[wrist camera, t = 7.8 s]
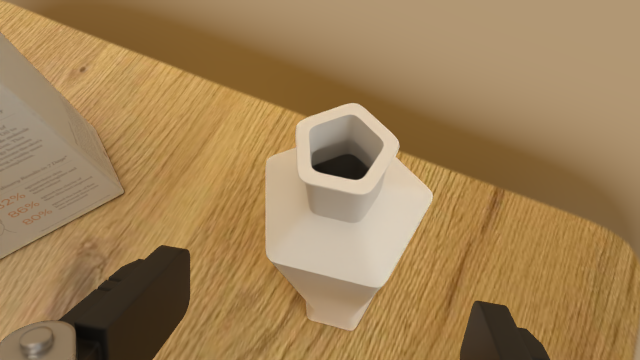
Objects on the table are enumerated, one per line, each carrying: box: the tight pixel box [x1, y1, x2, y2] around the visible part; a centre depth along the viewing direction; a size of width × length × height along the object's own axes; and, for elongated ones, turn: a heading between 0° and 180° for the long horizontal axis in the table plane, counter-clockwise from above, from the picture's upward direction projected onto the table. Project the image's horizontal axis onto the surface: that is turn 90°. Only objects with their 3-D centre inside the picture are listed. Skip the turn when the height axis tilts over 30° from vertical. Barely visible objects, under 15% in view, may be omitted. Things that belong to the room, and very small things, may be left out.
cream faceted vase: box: [266, 103, 433, 331], centre depth 15 cm, size 5×4×15 cm
